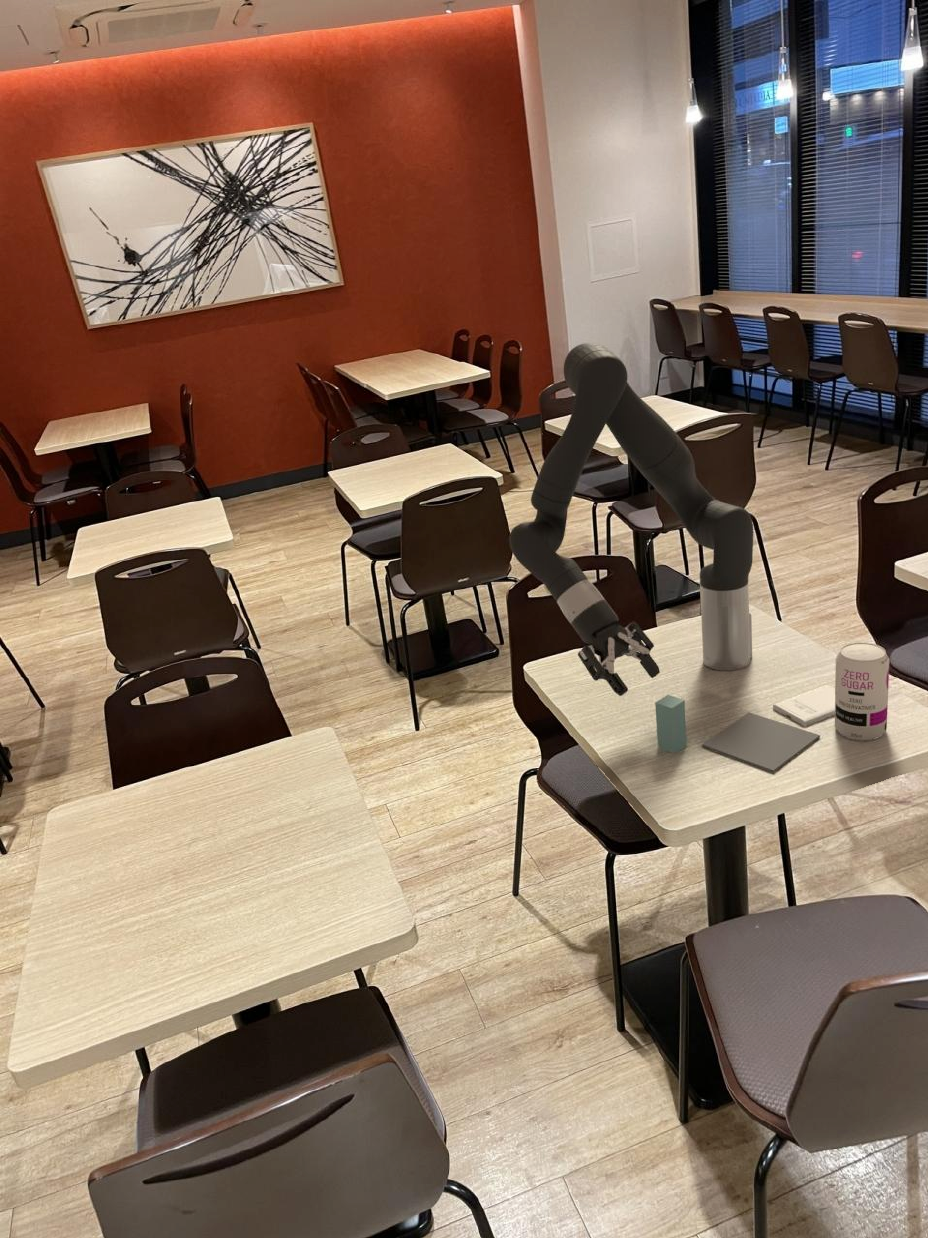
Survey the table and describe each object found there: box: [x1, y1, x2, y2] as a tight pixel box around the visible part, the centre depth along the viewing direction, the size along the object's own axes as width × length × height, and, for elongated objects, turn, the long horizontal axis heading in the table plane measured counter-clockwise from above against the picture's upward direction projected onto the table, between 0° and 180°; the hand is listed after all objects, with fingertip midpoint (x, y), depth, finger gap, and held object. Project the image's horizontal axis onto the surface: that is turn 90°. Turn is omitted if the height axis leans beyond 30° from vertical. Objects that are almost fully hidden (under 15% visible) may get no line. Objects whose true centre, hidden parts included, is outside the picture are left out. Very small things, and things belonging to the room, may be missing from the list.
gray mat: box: [701, 711, 821, 774], centre depth 162 cm, size 14×14×1 cm
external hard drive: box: [772, 684, 835, 727], centre depth 170 cm, size 2×8×12 cm
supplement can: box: [834, 642, 890, 742], centre depth 158 cm, size 8×8×15 cm
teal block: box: [654, 694, 688, 755], centre depth 162 cm, size 4×4×9 cm
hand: (640, 684), depth 165 cm, fingers open, 8 cm apart
